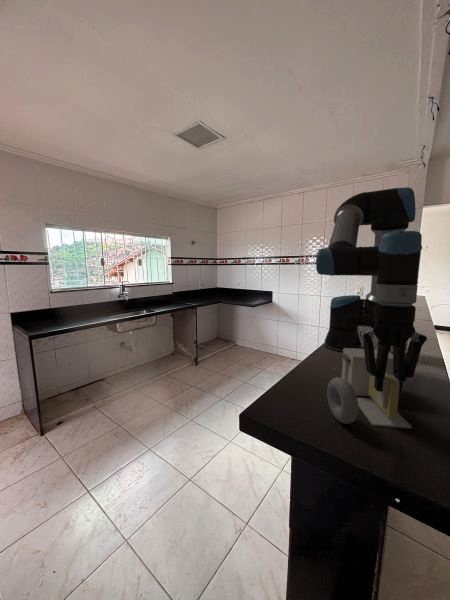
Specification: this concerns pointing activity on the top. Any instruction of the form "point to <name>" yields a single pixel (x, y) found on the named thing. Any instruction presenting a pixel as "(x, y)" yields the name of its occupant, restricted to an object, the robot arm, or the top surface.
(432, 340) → the top surface
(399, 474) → the top surface
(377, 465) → the top surface
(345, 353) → the large beige block
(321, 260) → the robot arm
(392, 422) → the mat
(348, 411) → the donut
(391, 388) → the yellow rectangular slab
